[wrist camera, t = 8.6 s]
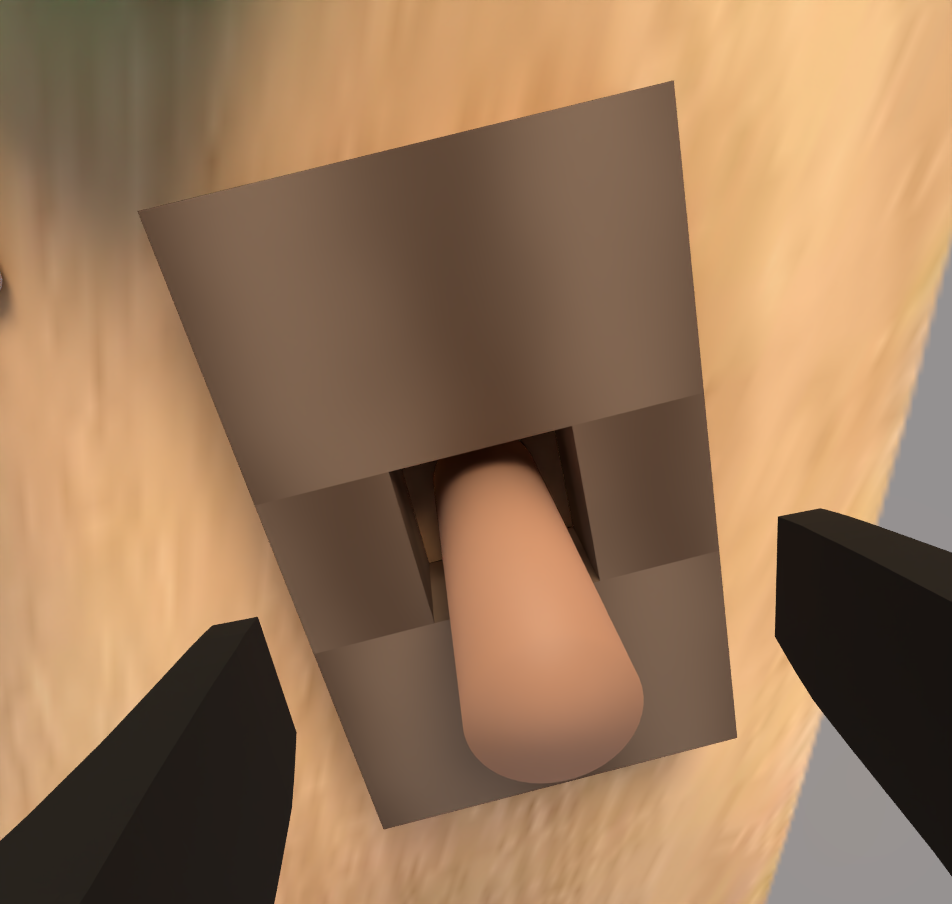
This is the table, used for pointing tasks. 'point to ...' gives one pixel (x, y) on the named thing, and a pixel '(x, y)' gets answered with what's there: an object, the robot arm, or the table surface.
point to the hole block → (467, 406)
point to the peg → (528, 625)
